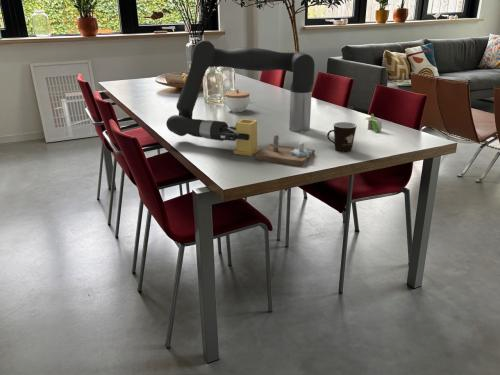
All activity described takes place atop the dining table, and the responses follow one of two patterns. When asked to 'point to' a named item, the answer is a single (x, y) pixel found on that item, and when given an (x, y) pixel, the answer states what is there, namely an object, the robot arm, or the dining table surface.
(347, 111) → the dining table surface
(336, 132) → the coffee mug
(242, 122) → the yellow hollow block
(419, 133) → the dining table surface
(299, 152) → the gear
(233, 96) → the lidded bowl
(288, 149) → the gear board
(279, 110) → the dining table surface
